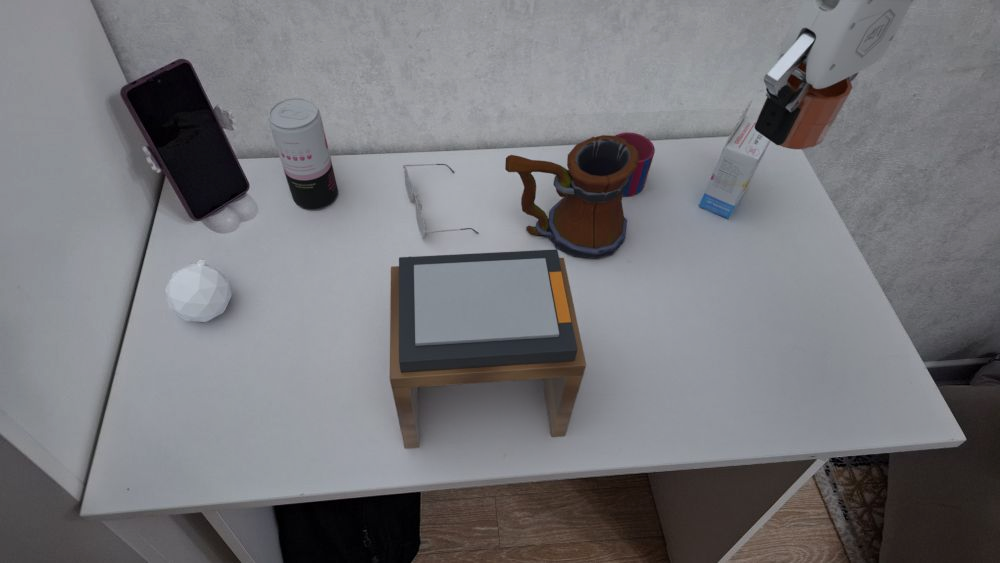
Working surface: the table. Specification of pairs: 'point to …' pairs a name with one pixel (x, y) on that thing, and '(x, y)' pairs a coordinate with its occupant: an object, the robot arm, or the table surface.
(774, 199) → the table surface
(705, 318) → the table surface
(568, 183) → the mug
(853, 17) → the robot arm
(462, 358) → the scale
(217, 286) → the ornament
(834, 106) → the flower pot
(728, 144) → the ink box
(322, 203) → the beverage can
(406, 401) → the stand
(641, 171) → the cup
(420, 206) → the eyeglasses
